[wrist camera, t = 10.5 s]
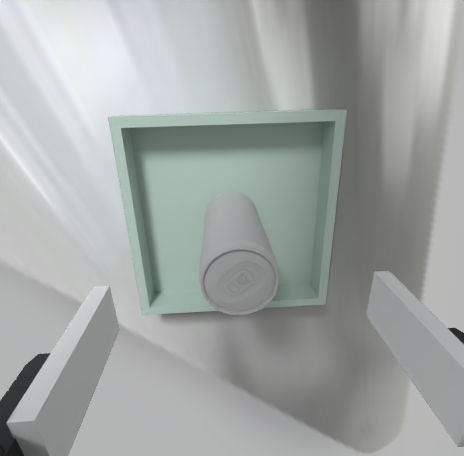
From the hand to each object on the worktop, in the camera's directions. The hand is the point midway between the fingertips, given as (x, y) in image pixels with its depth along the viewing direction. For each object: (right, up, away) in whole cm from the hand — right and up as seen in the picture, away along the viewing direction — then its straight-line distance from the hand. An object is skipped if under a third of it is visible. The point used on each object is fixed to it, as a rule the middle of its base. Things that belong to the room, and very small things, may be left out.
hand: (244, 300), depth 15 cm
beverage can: (-1, +5, +13) cm, 14 cm away
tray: (-1, +5, +14) cm, 15 cm away
